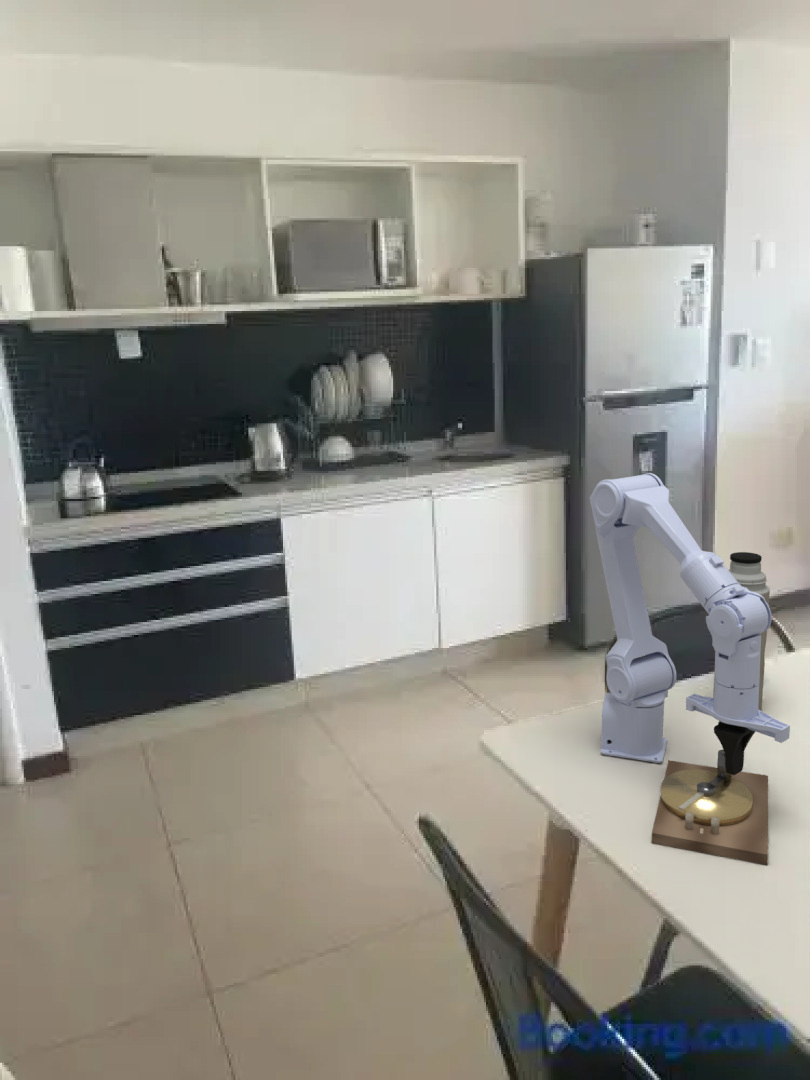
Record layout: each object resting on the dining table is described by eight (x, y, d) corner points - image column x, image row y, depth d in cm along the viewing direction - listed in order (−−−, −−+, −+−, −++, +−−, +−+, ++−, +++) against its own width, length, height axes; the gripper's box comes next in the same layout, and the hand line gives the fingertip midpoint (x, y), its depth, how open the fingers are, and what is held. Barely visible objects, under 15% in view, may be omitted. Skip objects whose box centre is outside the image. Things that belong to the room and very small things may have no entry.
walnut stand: (651, 842, 110) (652, 819, 109) (668, 769, 128) (668, 748, 127) (767, 865, 105) (768, 840, 104) (767, 784, 123) (769, 763, 122)
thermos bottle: (750, 697, 151) (760, 547, 144) (768, 717, 143) (780, 560, 136) (706, 699, 151) (714, 549, 144) (721, 719, 143) (730, 562, 136)
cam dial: (641, 802, 117) (642, 767, 115) (689, 769, 125) (690, 736, 123) (722, 838, 108) (724, 801, 107) (767, 800, 116) (770, 765, 115)
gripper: (803, 687, 111) (798, 780, 114) (706, 659, 122) (704, 744, 126) (775, 703, 107) (770, 799, 110) (677, 672, 118) (676, 760, 121)
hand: (733, 771), depth 118 cm, fingers closed, pressing on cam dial
